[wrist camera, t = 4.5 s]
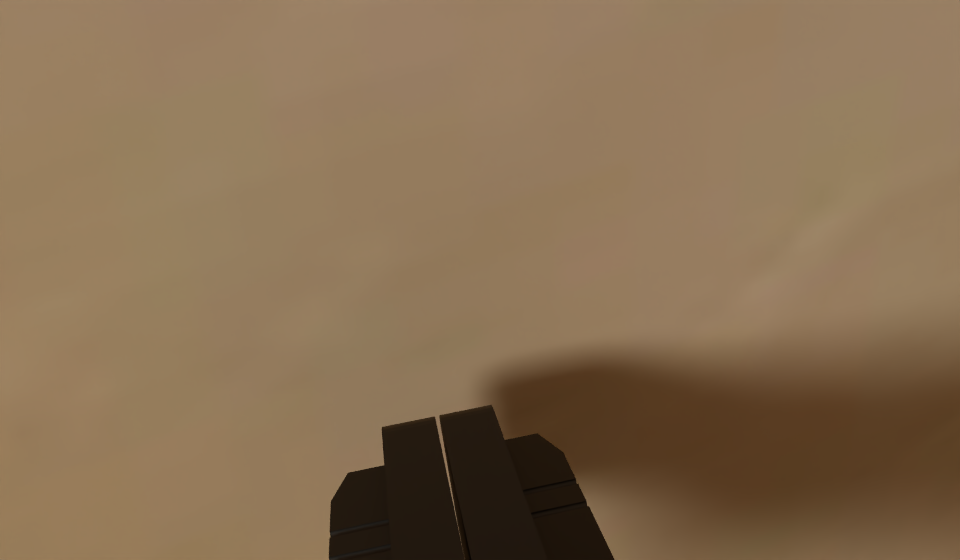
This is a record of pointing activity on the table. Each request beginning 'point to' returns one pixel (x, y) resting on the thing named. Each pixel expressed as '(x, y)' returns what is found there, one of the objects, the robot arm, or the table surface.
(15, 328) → the table surface
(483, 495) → the robot arm
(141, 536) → the table surface
